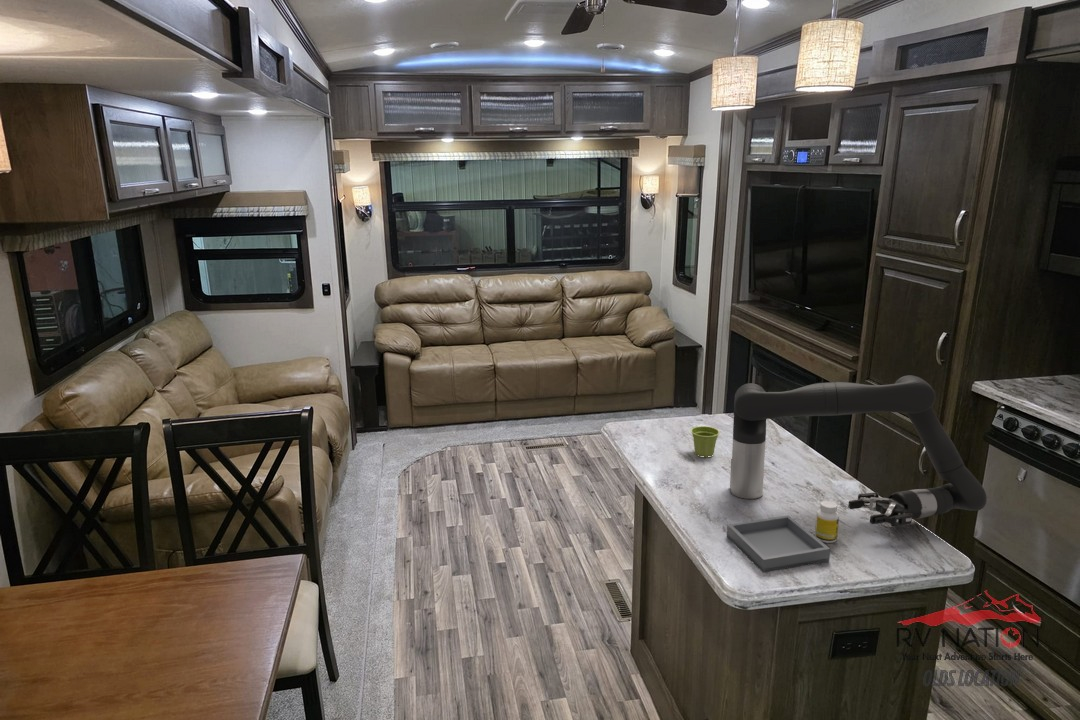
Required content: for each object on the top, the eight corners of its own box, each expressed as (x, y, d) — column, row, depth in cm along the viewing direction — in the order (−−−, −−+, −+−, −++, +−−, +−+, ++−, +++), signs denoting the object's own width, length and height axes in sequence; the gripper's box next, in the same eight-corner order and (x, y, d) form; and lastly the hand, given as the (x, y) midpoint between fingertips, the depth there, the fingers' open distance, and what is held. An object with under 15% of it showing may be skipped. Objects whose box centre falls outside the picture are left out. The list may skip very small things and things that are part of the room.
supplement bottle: (839, 544, 179) (842, 509, 176) (816, 542, 180) (819, 508, 177) (834, 534, 184) (837, 500, 181) (813, 532, 185) (815, 498, 182)
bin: (726, 536, 184) (727, 524, 183) (787, 527, 188) (788, 515, 187) (763, 572, 167) (763, 559, 166) (829, 561, 171) (830, 548, 170)
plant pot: (722, 452, 239) (723, 428, 236) (713, 462, 231) (714, 437, 229) (696, 447, 243) (696, 424, 241) (686, 457, 236) (686, 433, 234)
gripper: (895, 480, 191) (843, 487, 188) (934, 503, 178) (879, 511, 175) (892, 505, 193) (841, 513, 190) (931, 529, 180) (877, 538, 177)
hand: (859, 512), depth 182 cm, fingers open, 8 cm apart
